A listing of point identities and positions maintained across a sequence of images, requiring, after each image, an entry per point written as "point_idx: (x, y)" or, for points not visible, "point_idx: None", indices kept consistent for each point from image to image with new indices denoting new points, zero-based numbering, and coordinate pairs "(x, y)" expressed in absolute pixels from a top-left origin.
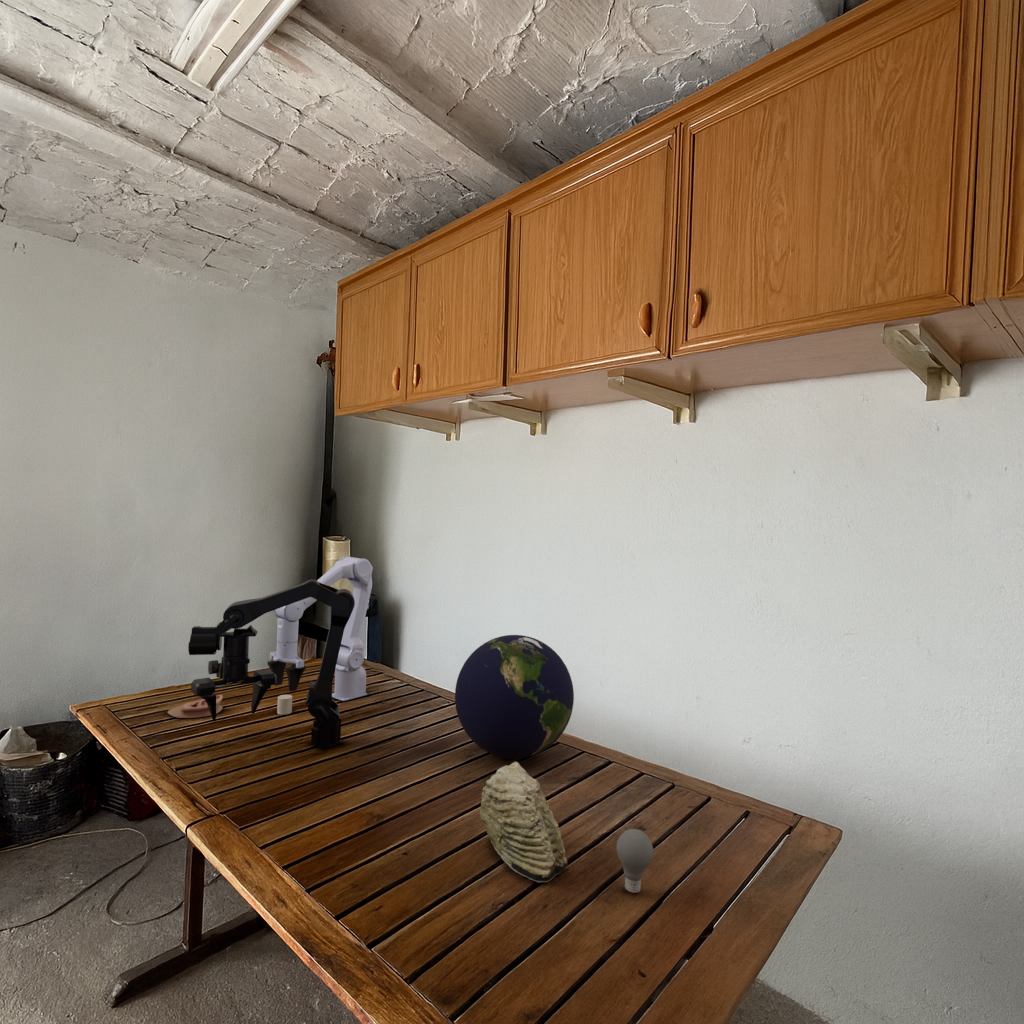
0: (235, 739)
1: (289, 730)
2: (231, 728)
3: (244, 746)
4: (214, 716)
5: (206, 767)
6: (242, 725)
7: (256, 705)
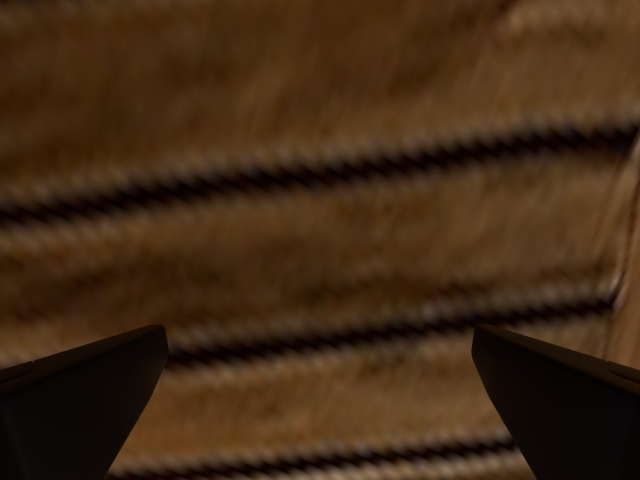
0: (272, 346)
1: (9, 321)
2: (251, 464)
3: (259, 243)
4: (512, 334)
5: (514, 74)
6: (201, 472)
7: (99, 345)
